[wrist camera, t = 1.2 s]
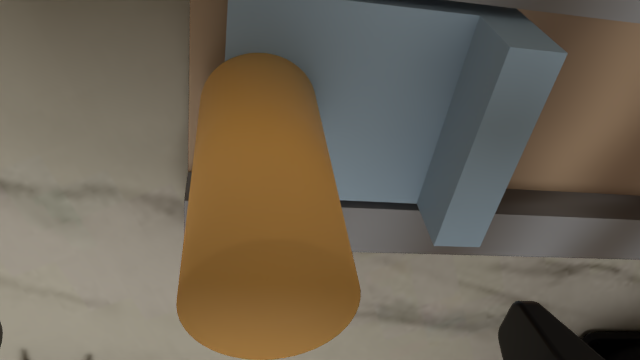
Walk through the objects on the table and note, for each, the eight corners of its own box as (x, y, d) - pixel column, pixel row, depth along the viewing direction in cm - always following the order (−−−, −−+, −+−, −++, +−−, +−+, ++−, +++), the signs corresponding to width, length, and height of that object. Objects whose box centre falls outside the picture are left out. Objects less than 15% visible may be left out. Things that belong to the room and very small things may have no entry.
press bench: (887, -54, 18) (1155, 21, 12) (684, 222, 25) (801, 342, 19) (196, -170, 13) (169, -131, 8) (190, 201, 20) (174, 346, 15)
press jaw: (511, 3, 15) (714, 180, 9) (446, 180, 19) (554, 397, 13) (206, -34, 14) (175, 148, 7) (200, 166, 18) (176, 407, 11)
